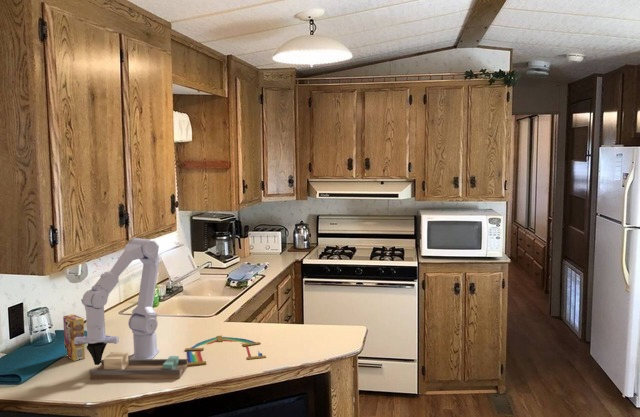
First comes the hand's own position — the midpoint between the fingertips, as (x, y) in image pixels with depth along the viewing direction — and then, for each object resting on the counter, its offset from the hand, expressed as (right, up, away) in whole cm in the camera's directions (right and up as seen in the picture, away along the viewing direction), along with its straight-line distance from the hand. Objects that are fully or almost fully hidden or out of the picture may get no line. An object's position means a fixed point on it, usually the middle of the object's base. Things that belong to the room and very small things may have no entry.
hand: (97, 363), depth 184 cm
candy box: (-15, -2, +16) cm, 23 cm away
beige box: (+6, -2, 0) cm, 7 cm away
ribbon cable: (+39, -1, +24) cm, 45 cm away
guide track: (+14, -3, 0) cm, 15 cm away
